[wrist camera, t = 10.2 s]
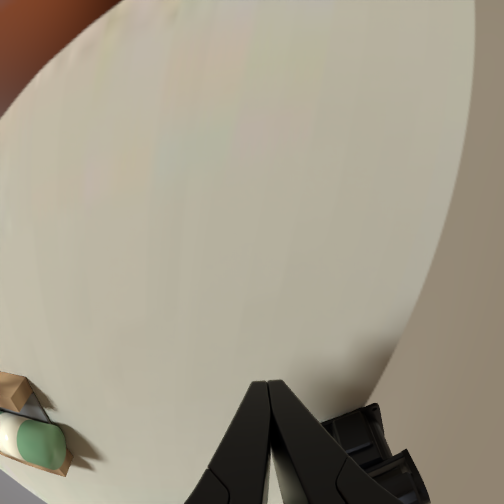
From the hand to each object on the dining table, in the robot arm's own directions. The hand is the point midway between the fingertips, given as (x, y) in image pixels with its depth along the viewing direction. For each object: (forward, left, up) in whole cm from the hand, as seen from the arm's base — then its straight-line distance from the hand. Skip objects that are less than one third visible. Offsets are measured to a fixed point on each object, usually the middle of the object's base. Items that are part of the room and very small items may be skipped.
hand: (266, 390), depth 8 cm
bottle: (-12, +28, -10) cm, 32 cm away
